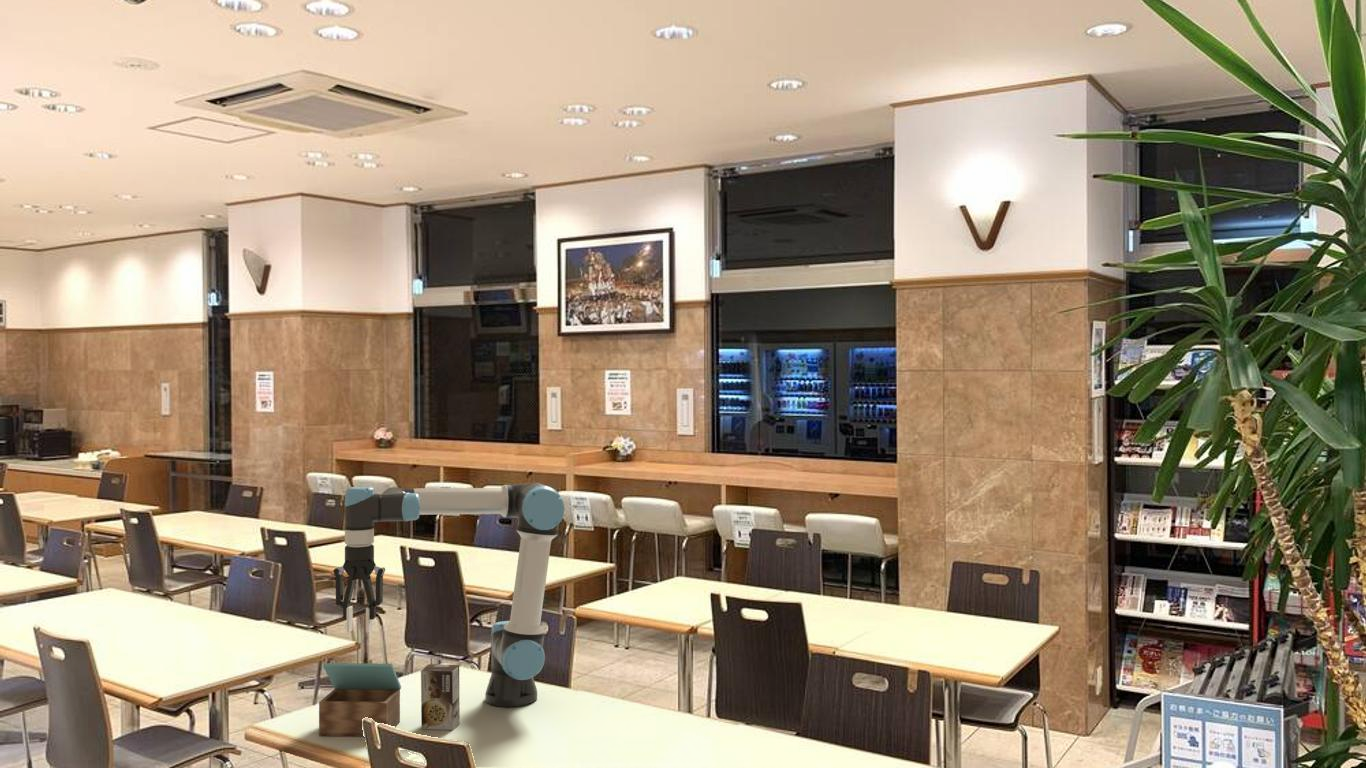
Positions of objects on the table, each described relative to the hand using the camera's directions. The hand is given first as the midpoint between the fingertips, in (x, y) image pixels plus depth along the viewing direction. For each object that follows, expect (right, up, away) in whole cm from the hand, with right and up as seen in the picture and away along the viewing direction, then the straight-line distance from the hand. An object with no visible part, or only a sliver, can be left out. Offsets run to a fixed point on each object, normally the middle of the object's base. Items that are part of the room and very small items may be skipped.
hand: (359, 631), depth 282 cm
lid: (0, -13, +3) cm, 14 cm away
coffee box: (+21, -27, +4) cm, 34 cm away
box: (0, -27, +1) cm, 27 cm away
